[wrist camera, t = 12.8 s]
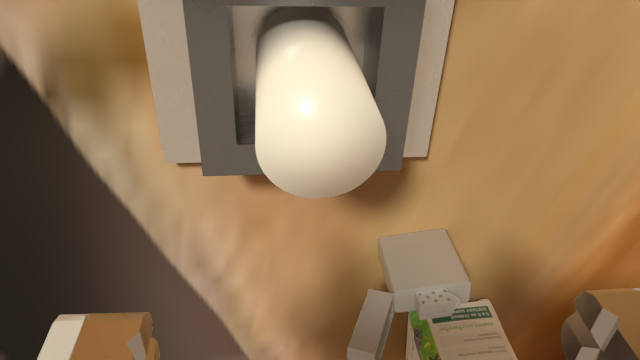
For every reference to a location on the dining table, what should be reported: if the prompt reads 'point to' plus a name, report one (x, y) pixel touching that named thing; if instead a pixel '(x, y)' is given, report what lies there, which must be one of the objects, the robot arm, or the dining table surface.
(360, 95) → the white rounded cylinder
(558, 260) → the dining table surface
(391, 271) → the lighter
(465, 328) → the syrup box
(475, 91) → the dining table surface
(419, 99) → the fitting board
